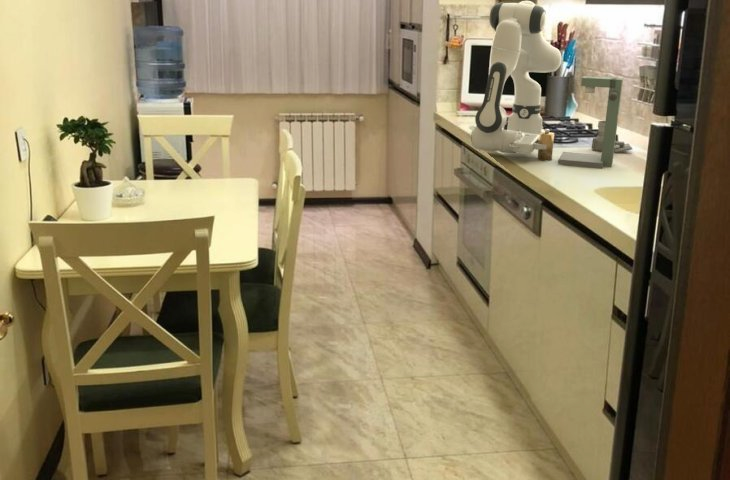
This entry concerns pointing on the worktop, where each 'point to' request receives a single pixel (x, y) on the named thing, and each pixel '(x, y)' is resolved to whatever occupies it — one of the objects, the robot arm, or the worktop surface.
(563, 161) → the press
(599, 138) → the camera
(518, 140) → the robot arm
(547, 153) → the tan upright block
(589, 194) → the worktop surface
